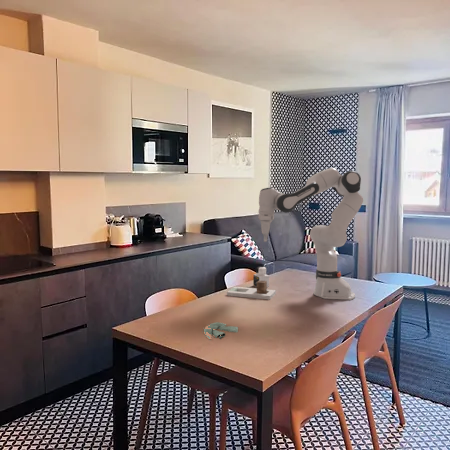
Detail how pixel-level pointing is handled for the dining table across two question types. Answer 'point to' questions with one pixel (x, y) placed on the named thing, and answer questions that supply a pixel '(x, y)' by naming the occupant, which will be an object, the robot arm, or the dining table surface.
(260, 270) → the medicine bottle
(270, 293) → the parts plate
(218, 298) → the dining table surface
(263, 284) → the walnut block
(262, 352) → the dining table surface
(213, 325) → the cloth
